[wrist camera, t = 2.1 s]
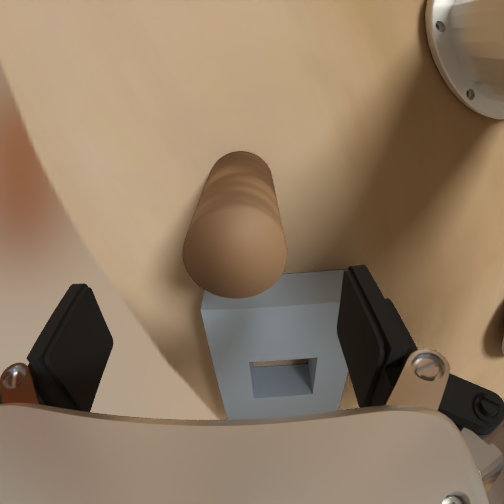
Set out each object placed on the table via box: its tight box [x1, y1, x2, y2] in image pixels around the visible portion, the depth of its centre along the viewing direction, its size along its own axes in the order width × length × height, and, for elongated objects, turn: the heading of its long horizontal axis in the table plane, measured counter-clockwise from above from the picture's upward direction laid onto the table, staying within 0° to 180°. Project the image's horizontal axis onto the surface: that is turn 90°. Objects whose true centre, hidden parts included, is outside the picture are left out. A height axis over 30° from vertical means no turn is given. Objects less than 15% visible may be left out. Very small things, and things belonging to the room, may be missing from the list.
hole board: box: [201, 270, 348, 420], centre depth 29 cm, size 12×18×4 cm, turn 4°
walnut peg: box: [183, 151, 287, 299], centre depth 18 cm, size 4×4×10 cm
